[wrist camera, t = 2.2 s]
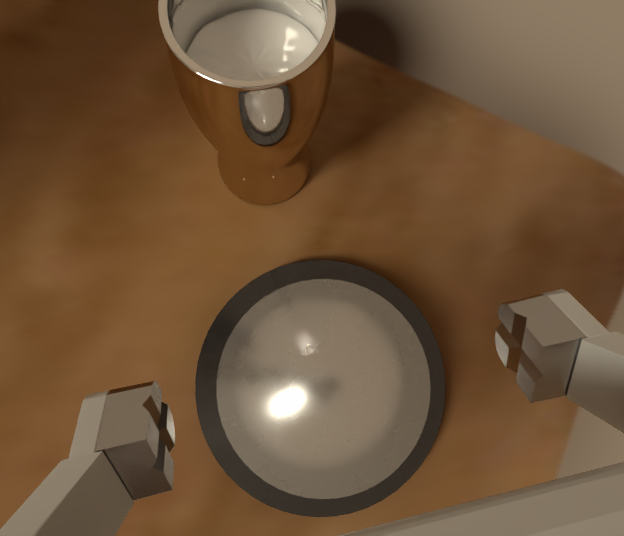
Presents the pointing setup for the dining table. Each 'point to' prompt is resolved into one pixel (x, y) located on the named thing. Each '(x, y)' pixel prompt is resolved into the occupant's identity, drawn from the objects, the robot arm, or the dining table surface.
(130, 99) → the dining table surface
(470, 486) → the dining table surface
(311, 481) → the disc
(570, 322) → the robot arm
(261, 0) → the beer glass
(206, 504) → the dining table surface
